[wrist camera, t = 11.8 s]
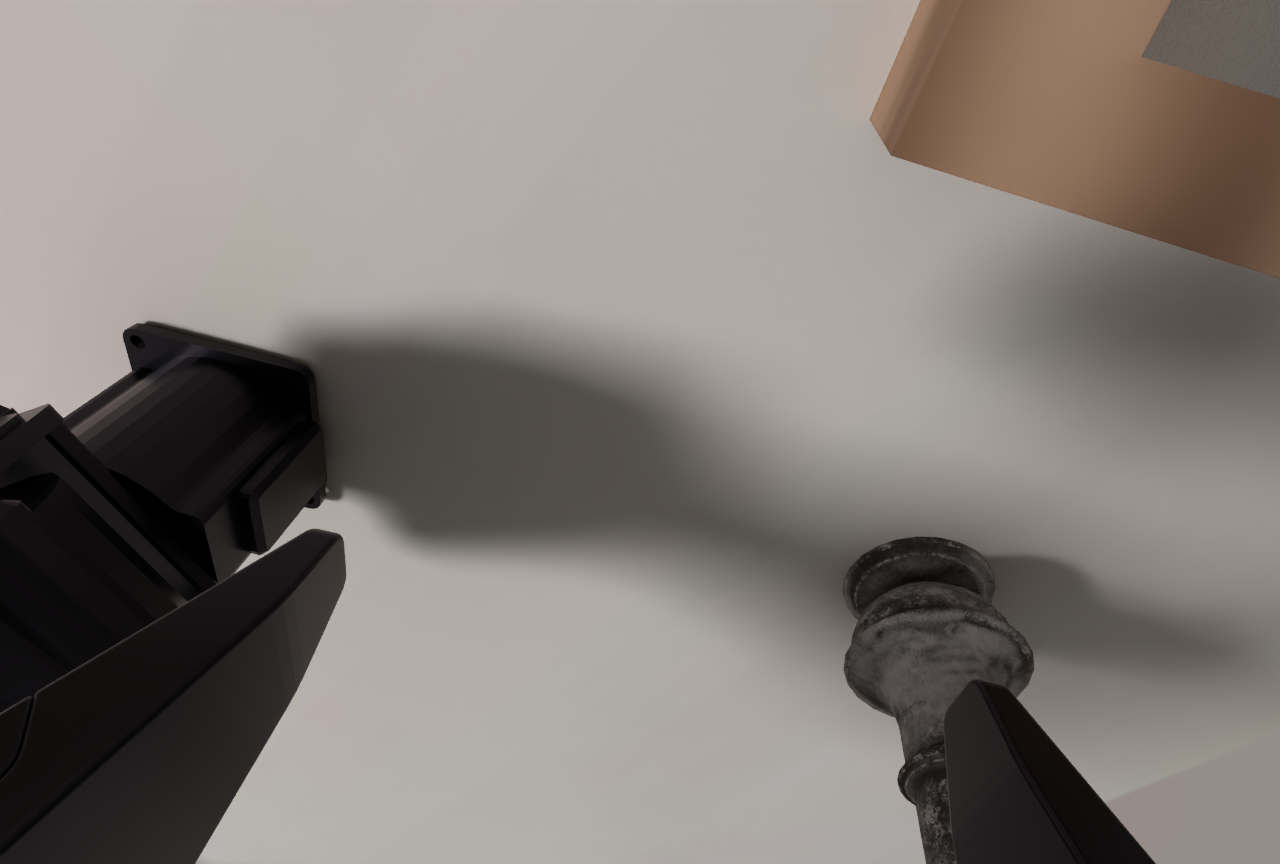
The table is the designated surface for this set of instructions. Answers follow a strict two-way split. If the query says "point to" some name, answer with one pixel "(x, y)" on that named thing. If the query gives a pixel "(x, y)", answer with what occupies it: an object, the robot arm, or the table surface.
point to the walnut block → (1088, 121)
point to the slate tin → (1222, 41)
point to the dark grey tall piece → (927, 657)
